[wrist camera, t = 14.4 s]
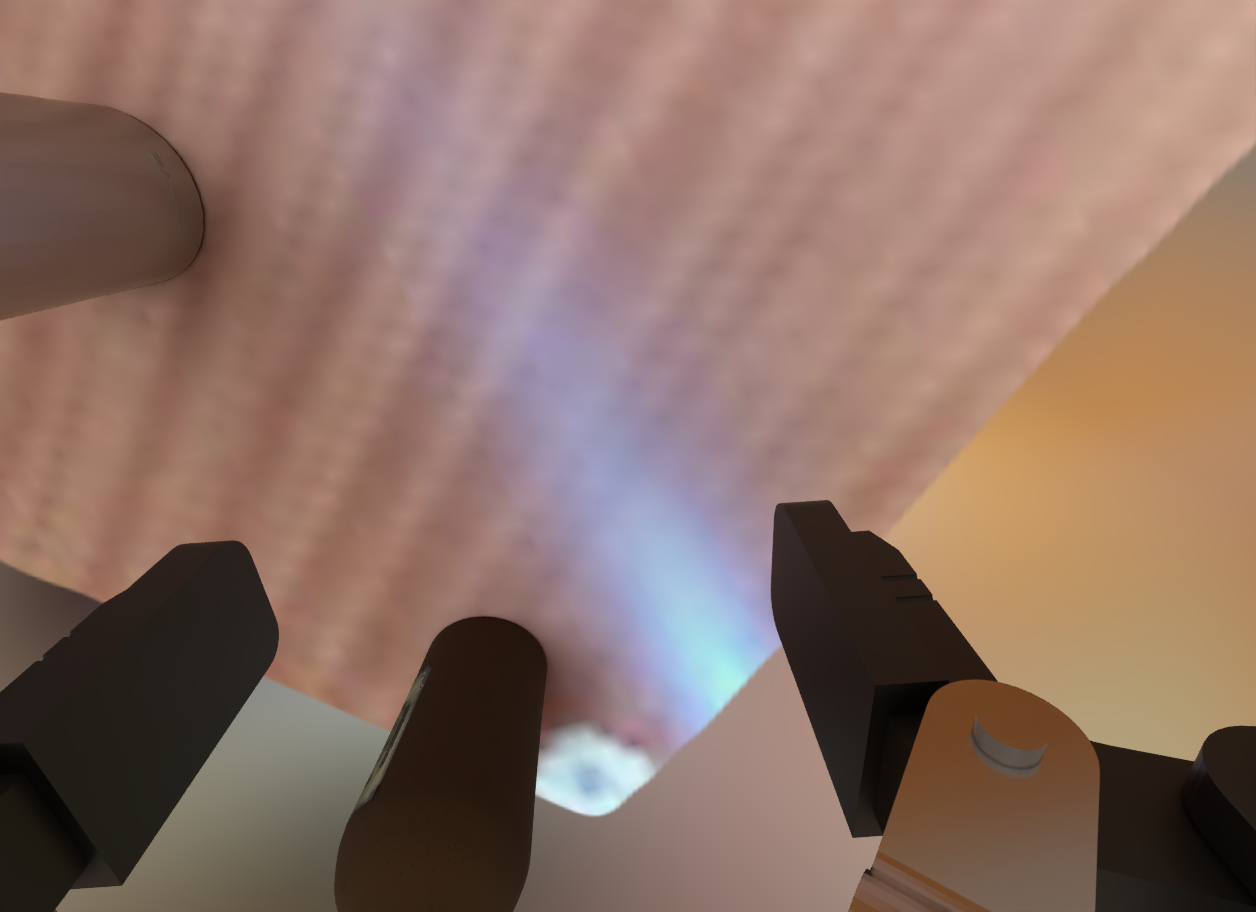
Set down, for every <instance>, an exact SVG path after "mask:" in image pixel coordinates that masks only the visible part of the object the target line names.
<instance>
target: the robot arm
mask: <svg viewBox="0 0 1256 912" xmlns="http://www.w3.org/2000/svg"><path fill="white" fill-rule="evenodd" d="M202 234H203V211H202V207H201V202H200V198H199V194H198V191H197V189H196V187H195V184H194V182H193V180H192V177H191V175H190V173H189V172H188V170H187V169H186V167H185V166H184V164H183V162H182V161H181V159H180V158H179V156H178V155H177V154H176V153H175V152H174V151H173V149H172V148H171V147H170V146H169V145H168V144H167V143H166V142H165V140H164V139H162V138H161V137H160V136H159V135H158V134H156V133H155V132H154V131H153V130H152V129H150V128H149V127H148V126H147V125H145V124H143V123H142V122H140V121H138V120H136V119H135V118H133V117H131V116H130V115H128V114H125V113H122V112H120V111H117V110H114V109H111V108H109V107H103V106H96V105H90V104H82V103H75V102H67V101H60V100H52V99H45V98H38V97H33V96H25V95H17V94H9V93H2V92H0V320H4V319H8V318H12V317H17V316H21V315H25V314H29V313H33V312H37V311H42V310H46V309H50V308H54V307H58V306H63V305H67V304H71V303H75V302H79V301H83V300H88V299H92V298H96V297H100V296H104V295H110V294H114V293H118V292H122V291H126V290H130V289H135V288H139V287H143V286H147V285H151V284H155V283H159V282H162V281H165V280H169V279H172V278H173V277H175V276H176V275H178V274H179V273H181V272H183V271H184V270H185V269H186V268H187V267H188V265H189V264H190V263H191V262H192V261H193V260H194V258H195V256H196V254H197V252H198V250H199V247H200V244H201V239H202ZM771 601H772V610H773V616H774V621H775V625H776V628H777V631H778V634H779V637H780V640H781V642H782V645H783V648H784V651H785V653H786V656H787V659H788V662H789V664H790V667H791V670H792V672H793V675H794V678H795V681H796V683H797V686H798V689H799V692H800V694H801V697H802V700H803V702H804V706H805V708H806V711H807V714H808V717H809V719H810V722H811V724H812V728H813V730H814V733H815V736H816V738H817V741H818V744H819V747H820V749H821V752H822V755H823V758H824V760H825V763H826V766H827V769H828V771H829V774H830V777H831V780H832V782H833V785H834V788H835V790H836V793H837V796H838V799H839V801H840V804H841V807H842V810H843V813H844V815H845V818H846V821H847V824H848V826H849V829H850V832H851V835H852V837H853V838H856V837H870V836H883V837H882V840H881V843H880V846H879V849H878V852H877V855H876V857H875V860H874V863H873V865H872V867H871V870H868V869H866V870H865V872H864V873H863V875H862V877H861V880H860V882H859V884H858V887H857V889H856V893H855V894H854V897H853V900H852V903H851V905H850V908H849V911H848V912H1256V726H1233V727H1226V728H1223V729H1219V730H1217V731H1215V732H1214V733H1212V734H1210V735H1209V736H1208V738H1207V739H1206V740H1205V741H1204V743H1203V745H1202V747H1201V750H1200V751H1199V754H1198V756H1197V758H1196V760H1195V762H1194V761H1188V760H1183V759H1178V758H1172V757H1167V756H1162V755H1157V754H1152V753H1146V752H1141V751H1136V750H1130V749H1126V748H1120V747H1115V746H1109V745H1105V744H1101V743H1097V742H1093V741H1090V740H1089V739H1088V738H1087V737H1086V735H1085V734H1084V733H1083V731H1082V730H1081V729H1080V728H1079V727H1078V726H1077V725H1076V724H1075V723H1074V722H1073V721H1072V720H1071V719H1070V718H1069V717H1068V716H1067V715H1065V714H1064V713H1063V712H1062V711H1060V710H1059V709H1058V708H1056V707H1055V706H1053V705H1052V704H1050V703H1048V702H1047V701H1045V700H1044V699H1042V698H1040V697H1038V696H1036V695H1034V694H1032V693H1030V692H1027V691H1025V690H1022V689H1020V688H1018V687H1014V686H1011V685H1008V684H1004V683H1000V682H998V681H997V680H996V678H995V677H994V676H993V674H992V673H991V672H990V670H989V669H988V668H987V666H986V665H985V664H984V663H983V661H982V660H981V658H980V657H979V656H978V655H977V653H976V652H975V651H974V649H973V648H972V647H971V645H970V644H969V643H968V641H967V640H966V639H965V637H964V636H963V635H962V633H961V632H960V631H959V629H958V628H957V627H956V626H955V624H954V623H953V621H952V620H951V619H950V617H949V616H948V615H947V614H946V612H945V611H944V609H943V608H942V607H941V606H940V604H939V603H938V602H937V600H933V598H932V594H931V592H930V591H929V590H928V588H927V587H926V586H925V584H924V583H923V582H922V580H921V579H917V574H916V572H915V571H914V570H913V568H912V567H911V566H910V564H909V563H908V562H907V561H906V559H905V558H904V557H903V555H902V554H901V553H900V551H899V550H897V549H896V548H895V547H893V546H891V545H890V544H889V543H887V542H886V541H884V540H883V539H881V538H879V537H878V536H876V535H875V534H873V533H872V532H870V531H857V532H851V531H850V529H849V528H848V526H847V525H846V523H845V522H844V520H843V519H842V517H841V516H840V514H839V513H838V511H837V510H836V508H835V507H834V505H833V504H832V503H831V502H830V501H829V500H821V501H807V502H793V503H779V504H778V505H777V506H776V509H775V514H774V531H773V553H772V574H771ZM70 633H71V634H70V637H64V638H62V639H61V640H60V641H59V642H58V643H57V644H55V645H54V646H53V647H52V648H51V649H50V650H48V651H47V652H46V653H45V654H44V655H43V656H44V659H43V661H36V662H35V663H33V664H32V665H31V666H30V667H29V668H28V669H27V670H25V671H24V672H23V673H22V674H21V675H20V676H19V677H18V678H16V679H15V680H14V681H13V682H12V683H10V684H9V685H8V686H7V687H6V688H5V689H4V690H2V691H1V692H0V912H57V911H56V910H55V909H56V907H57V906H58V905H59V903H60V902H61V901H62V899H63V898H64V897H65V895H66V894H67V893H68V891H69V890H70V889H80V888H94V887H109V886H122V885H123V883H124V882H125V880H126V879H127V877H128V876H129V874H130V873H131V871H132V870H133V868H134V867H135V865H136V864H137V863H138V861H139V860H140V858H141V857H142V855H143V854H144V852H145V851H146V849H147V848H148V846H149V845H150V843H151V842H152V840H153V839H154V837H155V836H156V834H157V833H158V831H159V830H160V828H161V827H162V825H163V824H164V822H165V821H166V820H167V818H168V817H169V815H170V814H171V812H172V810H173V809H174V808H175V806H176V805H177V803H178V802H179V800H180V799H181V797H182V796H183V794H184V793H185V791H186V789H187V788H188V787H189V785H190V784H191V782H192V781H193V779H194V778H195V776H196V775H197V773H198V772H199V770H200V769H201V768H202V766H203V764H204V763H205V762H206V760H207V759H208V757H209V756H210V754H211V753H212V751H213V750H214V748H215V747H216V745H217V743H218V742H219V741H220V739H221V738H222V736H223V735H224V733H225V732H226V730H227V729H228V727H229V726H230V724H231V723H232V721H233V720H234V719H235V717H236V715H237V714H238V713H239V711H240V710H241V708H242V707H243V705H244V704H245V702H246V701H247V699H248V698H249V696H250V695H251V693H252V692H253V690H254V689H255V687H256V686H257V684H258V683H259V681H260V680H261V679H262V677H263V676H264V674H265V673H266V671H267V670H268V668H269V667H270V665H271V663H272V662H273V660H274V657H275V655H276V651H277V647H278V640H279V630H278V624H277V620H276V617H275V615H274V612H273V610H272V607H271V605H270V602H269V600H268V597H267V595H266V592H265V590H264V587H263V584H262V582H261V579H260V577H259V574H258V572H257V569H256V567H255V564H254V562H253V559H252V557H251V554H250V552H249V550H248V549H247V548H246V546H245V545H244V544H242V543H241V542H238V541H218V542H204V543H189V544H181V545H179V546H176V547H175V548H173V549H172V550H171V551H170V552H169V553H168V554H166V555H165V556H164V557H163V558H162V559H161V560H160V561H158V562H157V563H156V564H155V565H154V566H153V567H152V568H151V569H149V570H148V571H147V572H146V573H145V574H144V575H143V576H141V577H140V578H139V579H138V580H137V581H136V582H135V583H134V584H132V585H131V586H130V587H129V588H128V589H127V590H125V591H123V592H122V593H120V594H118V595H116V596H115V597H113V598H111V599H110V600H108V601H106V602H105V603H103V604H101V605H100V606H99V607H98V608H97V609H96V610H94V611H93V612H92V613H91V614H90V615H89V616H88V617H87V618H85V619H84V620H83V621H82V622H81V623H80V624H78V625H77V626H76V627H75V628H74V629H73V630H71V631H70Z"/></svg>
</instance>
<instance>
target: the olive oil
mask: <svg viewBox="0 0 1256 912" xmlns="http://www.w3.org/2000/svg"><path fill="white" fill-rule="evenodd" d="M546 672H547V664H546V658H545V655H544V652H543V650H542V648H541V646H540V645H539V643H538V642H537V641H536V640H535V638H534V637H533V636H532V635H530V634H529V633H528V632H527V631H525V630H524V629H522V628H520V627H519V626H517V625H515V624H512V623H510V622H507V621H504V620H500V619H494V618H471V619H466V620H462V621H459V622H456V623H454V624H452V625H450V626H448V627H447V628H445V629H444V630H443V631H441V632H440V633H439V634H438V635H437V637H436V638H435V639H434V641H433V642H432V644H431V646H430V648H429V650H428V652H427V655H426V657H425V659H424V661H423V664H422V666H421V668H420V670H419V673H418V675H417V677H416V679H415V681H414V683H413V686H412V688H411V690H410V692H409V695H408V697H407V699H406V701H405V703H404V705H403V707H402V710H401V712H400V714H399V716H398V718H397V720H396V722H395V724H394V727H393V729H392V731H391V733H390V735H389V737H388V739H387V742H386V744H385V746H384V748H383V750H382V752H381V754H380V757H379V759H378V761H377V763H376V765H375V767H374V769H373V771H372V773H371V775H370V777H369V779H368V781H367V783H366V785H365V787H364V790H363V792H362V794H361V796H360V798H359V800H358V802H357V804H356V806H355V809H354V810H353V812H352V814H351V817H350V819H349V821H348V823H347V825H346V828H345V831H344V833H343V836H342V839H341V842H340V846H339V851H338V856H337V863H336V872H335V883H334V889H335V890H334V891H335V901H336V906H337V910H338V912H513V911H514V908H515V906H516V904H517V902H518V899H519V897H520V894H521V892H522V890H523V887H524V884H525V881H526V877H527V874H528V869H529V864H530V855H531V843H532V830H533V816H534V803H535V790H536V777H537V765H538V754H539V742H540V730H541V719H542V710H543V701H544V691H545V682H546Z"/></svg>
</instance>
